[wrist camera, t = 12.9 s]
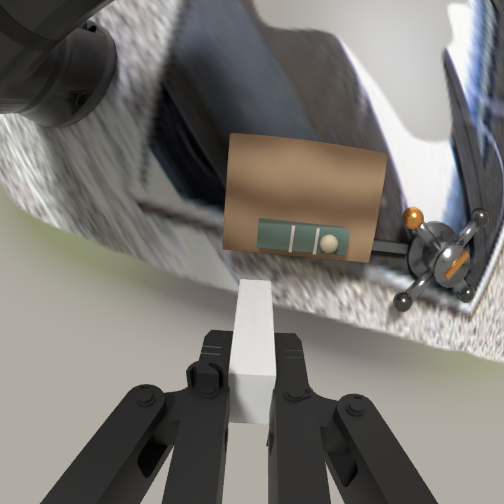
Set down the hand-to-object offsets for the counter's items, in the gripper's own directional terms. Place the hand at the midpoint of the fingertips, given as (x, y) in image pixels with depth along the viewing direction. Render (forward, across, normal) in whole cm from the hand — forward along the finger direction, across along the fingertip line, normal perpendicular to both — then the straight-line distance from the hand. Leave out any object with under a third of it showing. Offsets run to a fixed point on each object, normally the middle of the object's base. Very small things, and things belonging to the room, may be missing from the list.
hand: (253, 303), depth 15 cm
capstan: (+19, +24, -4) cm, 31 cm away
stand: (+21, +5, +2) cm, 21 cm away
